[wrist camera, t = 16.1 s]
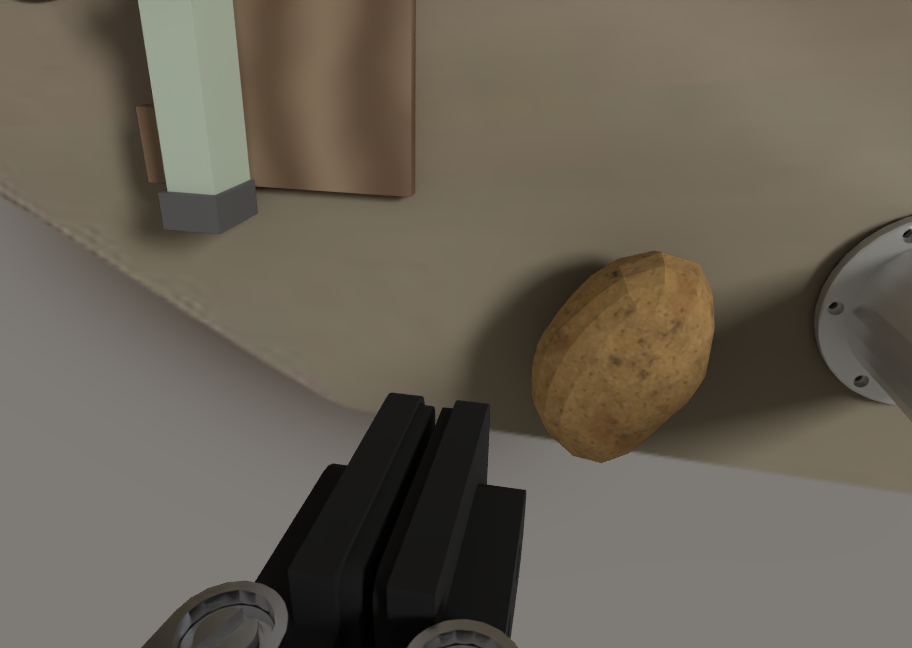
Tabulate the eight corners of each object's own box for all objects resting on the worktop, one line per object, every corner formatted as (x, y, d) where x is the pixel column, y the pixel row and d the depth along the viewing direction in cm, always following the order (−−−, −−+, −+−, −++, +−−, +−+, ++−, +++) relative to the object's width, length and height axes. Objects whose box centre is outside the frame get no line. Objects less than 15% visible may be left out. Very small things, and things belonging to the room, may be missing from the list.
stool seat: (415, -122, 34) (375, -164, 27) (415, 192, 41) (382, 224, 34) (142, -122, 36) (39, -160, 29) (186, 177, 43) (112, 204, 36)
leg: (167, -69, 36) (108, -84, 31) (235, -67, 35) (185, -83, 31) (203, 208, 42) (159, 228, 38) (261, 213, 42) (223, 234, 37)
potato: (744, 267, 39) (783, 319, 32) (628, 431, 46) (639, 505, 38) (605, 200, 39) (612, 236, 32) (507, 374, 45) (495, 438, 38)
